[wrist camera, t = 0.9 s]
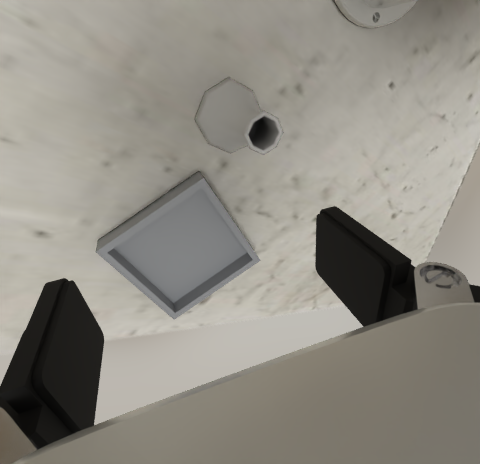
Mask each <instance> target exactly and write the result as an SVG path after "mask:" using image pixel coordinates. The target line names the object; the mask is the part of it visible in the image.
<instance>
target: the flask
mask: <svg viewBox="0 0 480 464" xmlns="http://www.w3.org/2000/svg"><path fill="white" fill-rule="evenodd" d="M195 121H196V123H197V125H198V126H199V128H200V130H201V132H202V134H203V135H204V137H205V139H206V141H207V142H208V144H210V145H212V146H215V147H217V148H219V149H222V150H224V151H226V152H229V153H233V152H235V151H237V150H239V149H241V148H243V147H246V146H249V148H250V149H252V150H254V151H256V152H258V153H260V154H263V155H264V154H266V153H268V152H269V151H271V150H272V149H274V148H276V147H277V145H278V143H279V141H280V139H281V137H282V135H283V133H284V132H283V130H282V127H281V124H280V122H279V119H278V118H277V117H275V116H273V115H272V114H270V113H268V112H266V111H262V112H261V110H260V107H259V105H258V102H257V100H256V97H255V95H254V93H253V90H251V89H249V88H247V87H246V86H244V85H242V84H240V83H238V82H237V81H235V80H233V79H231V78H230V77H229V78H227V79H225V80H224V81H222V82H220V83H219V84H217V85H216V86H214V87H212V88H211V89H209V90H207V91H206V92H205V93H204V96H203V99H202V101H201V104H200V107H199V109H198V112H197V115H196V117H195Z"/></svg>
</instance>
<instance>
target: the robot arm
mask: <svg viewBox="0 0 480 464" xmlns="http://www.w3.org/2000/svg"><path fill="white" fill-rule="evenodd" d="M417 1H418V0H335V3H336V4H337V6H338V7H339V9H340V11H341V12H342V13H343V14H344V15H345V16H346V17H347V19H348V20H350V21H351V22H353V23H355V24H356V25H358V26H362V27H366V28H376V27H381V26H386V25H388V24H391V23H393V22H395V21H397V20H398V19H400V18H401V17H403V16H404V15H405V14H406V13H407V12H408V11H409V10H410V9H411V8H412V7H413V6H414V5H415V4H416V2H417ZM316 270H317V273H318V274H319V276H320V277H321V278H322V279H323V280H324V281H325V282H326V284H327V285H328V286H329V287H330V288H331V289H332V291H333V292H334V293H335V294H336V295H337V296H338V298H339V299H340V300H341V301H342V302H343V303H344V304H345V306H346V307H347V308H348V309H349V310H350V311H351V313H352V314H353V315H354V316H355V317H356V318H357V320H358V321H359V322H360V323H361V324H362V325H363V326H364V327H362V328H359V329H356V330H354V331H351V332H348V333H345V334H342V335H340V336H337V337H334V338H331V339H329V340H326V341H323V342H320V343H317V344H314V345H311V346H309V347H306V348H303V349H300V350H297V351H295V352H292V353H289V354H286V355H284V356H281V357H278V358H275V359H273V360H270V361H267V362H264V363H262V364H259V365H256V366H253V367H250V368H248V369H245V370H242V371H240V372H237V373H234V374H231V375H228V376H226V377H223V378H220V379H217V380H215V381H212V382H209V383H206V384H204V385H201V386H198V387H196V388H193V389H190V390H187V391H185V392H182V393H179V394H177V395H174V396H171V397H168V398H166V399H163V400H160V401H158V402H155V403H152V404H149V405H147V406H144V407H141V408H139V409H136V410H133V411H131V412H128V413H125V414H123V415H120V416H118V417H115V418H112V419H110V420H107V421H105V422H102V423H99V424H97V425H94V419H95V411H96V402H97V395H98V386H99V378H100V369H101V362H102V354H103V346H104V336H103V332H102V330H101V328H100V327H99V325H98V323H97V321H96V319H95V318H94V316H93V314H92V312H91V311H90V309H89V307H88V305H87V303H86V302H85V300H84V298H83V296H82V294H81V293H80V291H79V289H78V287H77V286H76V284H75V282H74V281H68V280H67V279H65V278H63V279H59V280H56V281H52V282H48V283H46V284H45V286H44V288H43V290H42V293H41V295H40V297H39V300H38V302H37V304H36V307H35V309H34V311H33V314H32V316H31V319H30V321H29V323H28V326H27V328H26V330H25V331H24V333H23V335H22V337H21V339H20V342H19V344H18V346H17V349H16V351H15V353H14V356H13V358H12V360H11V363H10V365H9V367H8V370H7V372H6V374H5V377H4V379H3V381H2V384H1V386H0V464H480V286H475V285H470V284H469V283H468V280H467V279H466V277H465V275H464V274H463V273H461V272H460V271H459V270H457V269H455V268H454V267H451V266H448V265H446V264H442V263H437V262H427V263H422V264H420V265H418V266H417V267H414V266H413V265H411V260H410V259H409V258H408V257H406V256H405V255H403V254H402V253H401V252H399V251H398V250H396V249H395V248H394V247H392V246H391V245H389V244H388V243H387V242H385V241H384V240H382V239H381V238H380V237H378V236H377V235H375V234H374V233H373V232H371V231H370V230H368V229H367V228H366V227H364V226H363V225H361V224H360V223H359V222H357V221H356V220H354V219H353V218H352V217H350V216H349V215H347V214H346V213H344V212H343V211H342V210H340V209H339V208H337V207H336V206H334V207H330V208H326V209H322V210H321V211H320V214H318V215H317V220H316Z"/></svg>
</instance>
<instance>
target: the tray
mask: <svg viewBox="0 0 480 464" xmlns="http://www.w3.org/2000/svg"><path fill="white" fill-rule="evenodd" d="M96 253H98V254H99V255H100V256H101V257H102V258H103V259H104V260H106V261H107V262H108V263H109V264H110V265H111V266H113V267H114V268H115V269H116V270H117V271H118V272H120V273H121V274H122V275H123V276H124V277H125V278H126V279H128V280H129V281H130V282H131V283H132V284H133V285H135V286H136V287H137V288H138V289H139V290H140V291H142V292H143V293H144V294H145V295H146V296H147V297H148V298H150V299H151V300H152V301H153V302H154V303H155V304H157V305H158V306H159V307H160V308H161V309H162V310H164V311H165V312H166V313H167V314H168V315H169V316H170V317H172V318H173V319H176V318H177V317H179V316H180V315H182V314H183V313H184V312H186V311H187V310H189V309H190V308H192V307H193V306H195V305H196V304H198V303H199V302H201V301H202V300H203V299H205V298H206V297H208V296H209V295H211V294H212V293H214V292H215V291H217V290H218V289H220V288H221V287H222V286H224V285H225V284H227V283H228V282H230V281H231V280H233V279H234V278H236V277H237V276H239V275H240V274H241V273H243V272H244V271H246V270H247V269H249V268H250V267H252V266H253V265H255V264H256V263H258V262H259V261H260V259H259V258H258V256H257V255H256V253H255V252H254V250H253V249H252V247H251V246H250V244H249V243H248V242H247V240H246V239H245V237H244V236H243V234H242V233H241V231H240V230H239V228H238V227H237V225H236V224H235V223H234V221H233V220H232V218H231V217H230V215H229V214H228V212H227V211H226V209H225V208H224V207H223V205H222V204H221V202H220V201H219V199H218V198H217V196H216V195H215V193H214V192H213V191H212V189H211V188H210V186H209V185H208V183H207V182H206V180H205V179H204V177H203V176H202V174H201V173H200V172H199V171H198V172H197V173H195V174H194V175H192V176H191V177H189V178H188V179H186V180H185V181H184V182H182V183H181V184H179V185H178V186H176V187H175V188H173V189H172V190H170V191H169V192H168V193H166V194H165V195H163V196H162V197H160V198H159V199H157V200H156V201H154V202H153V203H152V204H150V205H149V206H147V207H146V208H144V209H143V210H141V211H140V212H138V213H137V214H136V215H134V216H133V217H131V218H130V219H128V220H127V221H125V222H124V223H122V224H121V225H119V226H118V227H117V228H115V229H114V230H112V231H111V232H109V233H108V234H106V235H105V236H103V237H102V238H101V239H99V240H98V243H97V248H96Z"/></svg>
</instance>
